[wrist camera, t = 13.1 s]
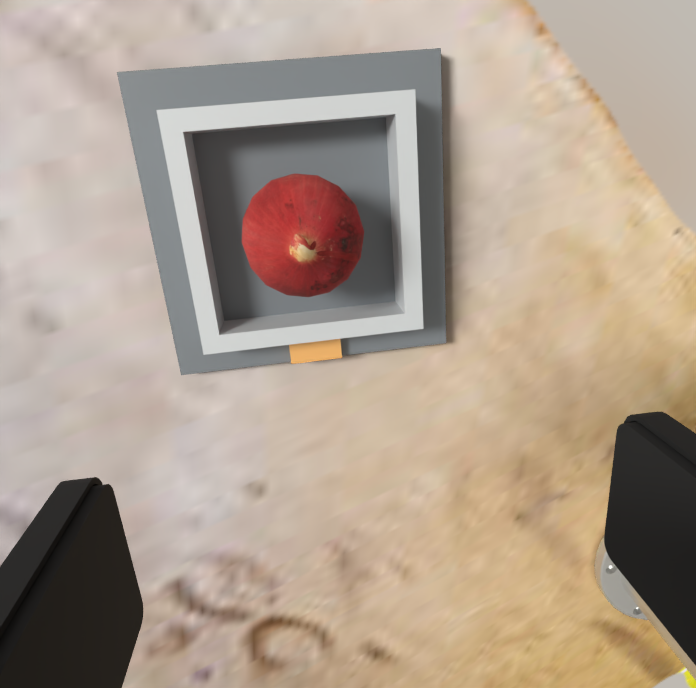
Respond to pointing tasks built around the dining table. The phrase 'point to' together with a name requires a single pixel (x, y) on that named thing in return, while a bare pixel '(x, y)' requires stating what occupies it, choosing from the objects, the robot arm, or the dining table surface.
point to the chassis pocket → (281, 160)
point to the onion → (302, 235)
